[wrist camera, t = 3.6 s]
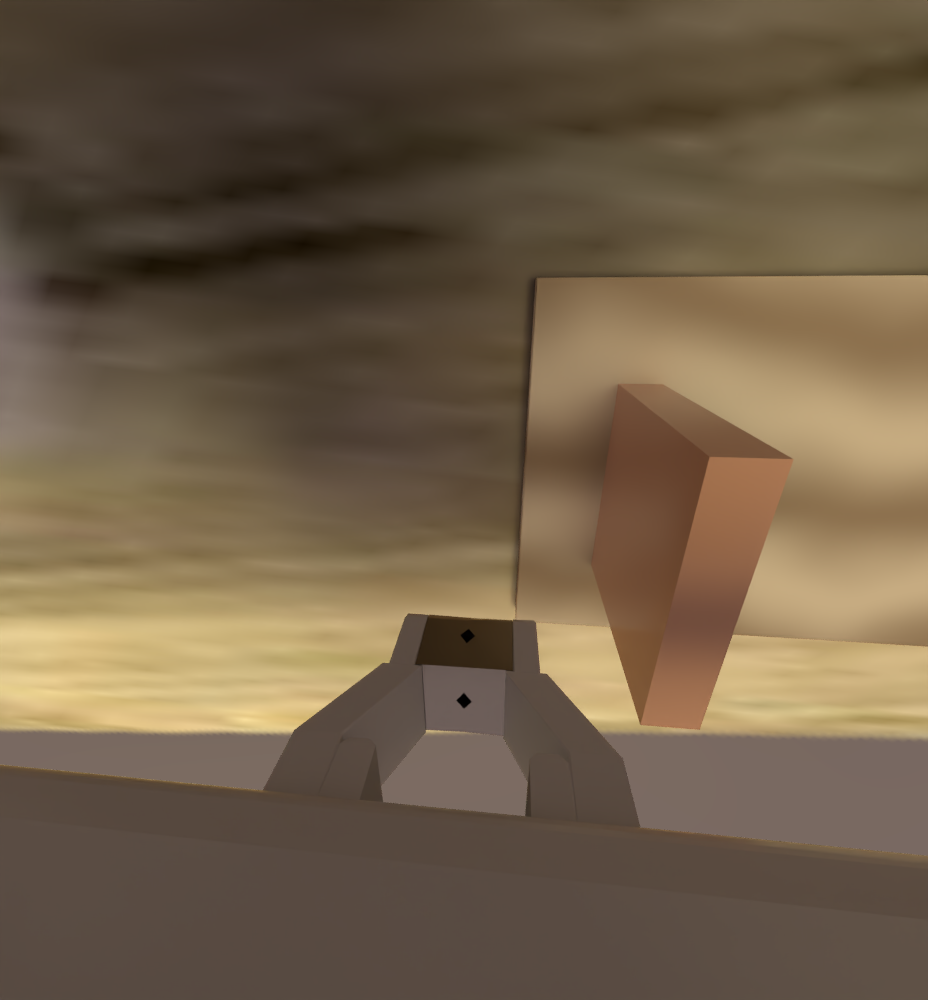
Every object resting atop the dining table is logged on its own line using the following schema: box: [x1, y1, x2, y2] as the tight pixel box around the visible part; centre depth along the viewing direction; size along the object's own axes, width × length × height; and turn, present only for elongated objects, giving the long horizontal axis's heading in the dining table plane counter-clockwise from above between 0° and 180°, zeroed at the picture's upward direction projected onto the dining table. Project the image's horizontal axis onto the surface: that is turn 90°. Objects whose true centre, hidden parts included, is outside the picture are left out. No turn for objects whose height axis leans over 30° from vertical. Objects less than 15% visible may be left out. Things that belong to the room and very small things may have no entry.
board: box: [515, 275, 928, 646], centre depth 17 cm, size 15×22×1 cm
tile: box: [591, 384, 794, 730], centre depth 14 cm, size 8×2×8 cm, turn 0°
